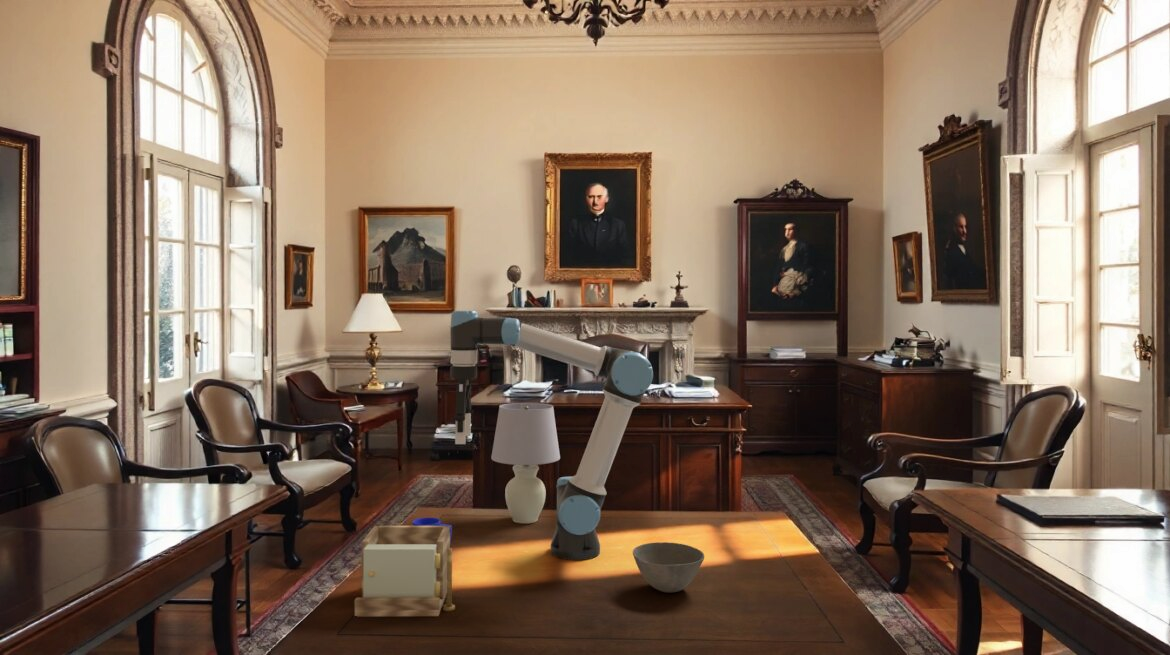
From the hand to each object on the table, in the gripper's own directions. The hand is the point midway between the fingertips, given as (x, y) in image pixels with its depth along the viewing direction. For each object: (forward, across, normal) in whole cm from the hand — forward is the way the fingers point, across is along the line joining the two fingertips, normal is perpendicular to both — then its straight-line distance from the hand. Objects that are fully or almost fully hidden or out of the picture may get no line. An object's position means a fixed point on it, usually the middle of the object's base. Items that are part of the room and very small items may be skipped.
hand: (463, 439), depth 222 cm
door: (+35, +30, -12) cm, 48 cm away
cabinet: (+37, +24, -10) cm, 45 cm away
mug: (+37, -12, -10) cm, 40 cm away
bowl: (+37, +18, +56) cm, 70 cm away
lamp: (+37, -50, +16) cm, 64 cm away
